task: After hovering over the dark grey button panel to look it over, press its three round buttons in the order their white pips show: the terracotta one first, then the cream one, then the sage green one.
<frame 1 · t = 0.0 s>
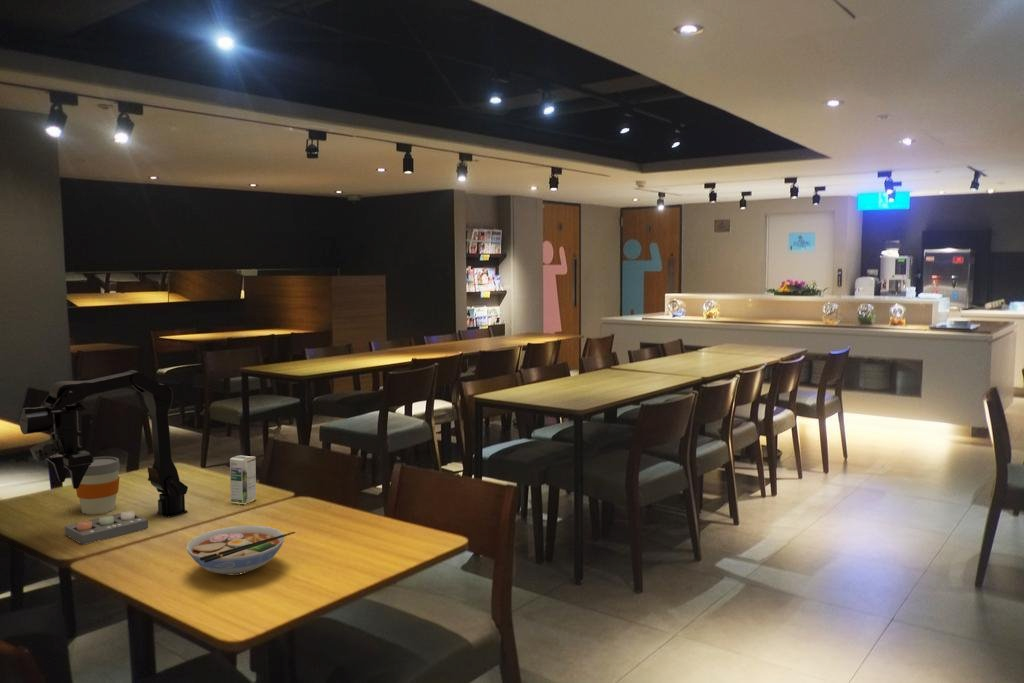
hand: (68, 485, 209), 15 cm above the table, tool pointing down, fingers open, 9 cm apart
button terracotta: (84, 528, 211), point 2 cm above the table, slide at 0.0 cm
button cream: (127, 517, 220), point 3 cm above the table, slide at 0.0 cm
ramen bowl: (237, 570, 189), on the table
reusable coffee cup: (98, 510, 235), on the table
button sage: (106, 522, 215), point 3 cm above the table, slide at 0.0 cm
syrup box: (243, 502, 244), on the table
button panel: (107, 531, 216), on the table
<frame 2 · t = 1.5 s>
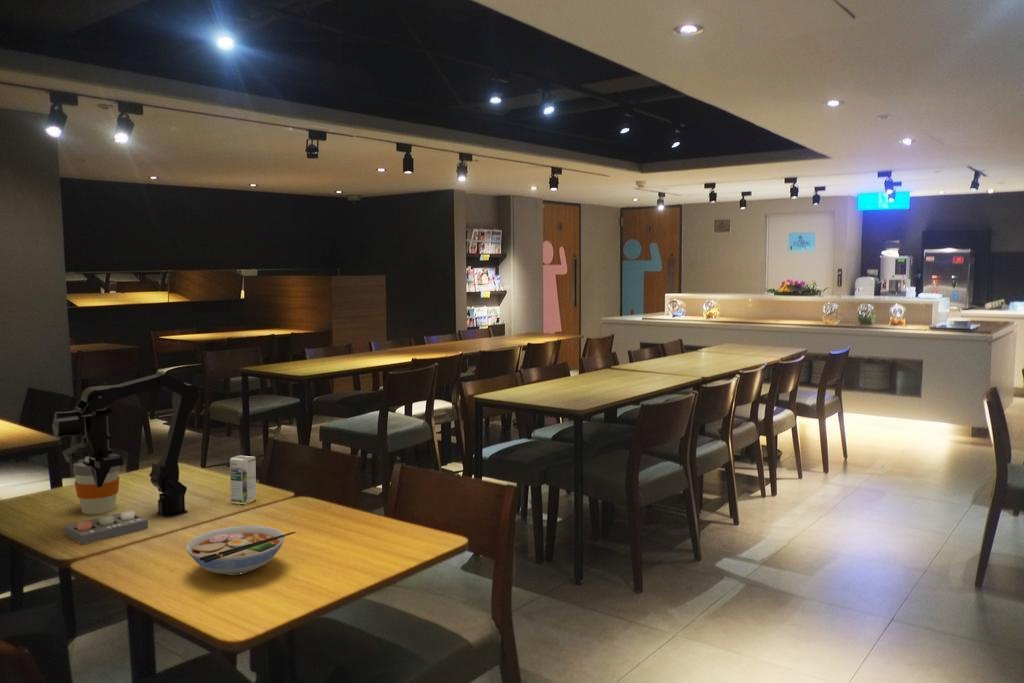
hand: (99, 486, 217), 12 cm above the table, tool pointing down, fingers closed
nothing on the table moved.
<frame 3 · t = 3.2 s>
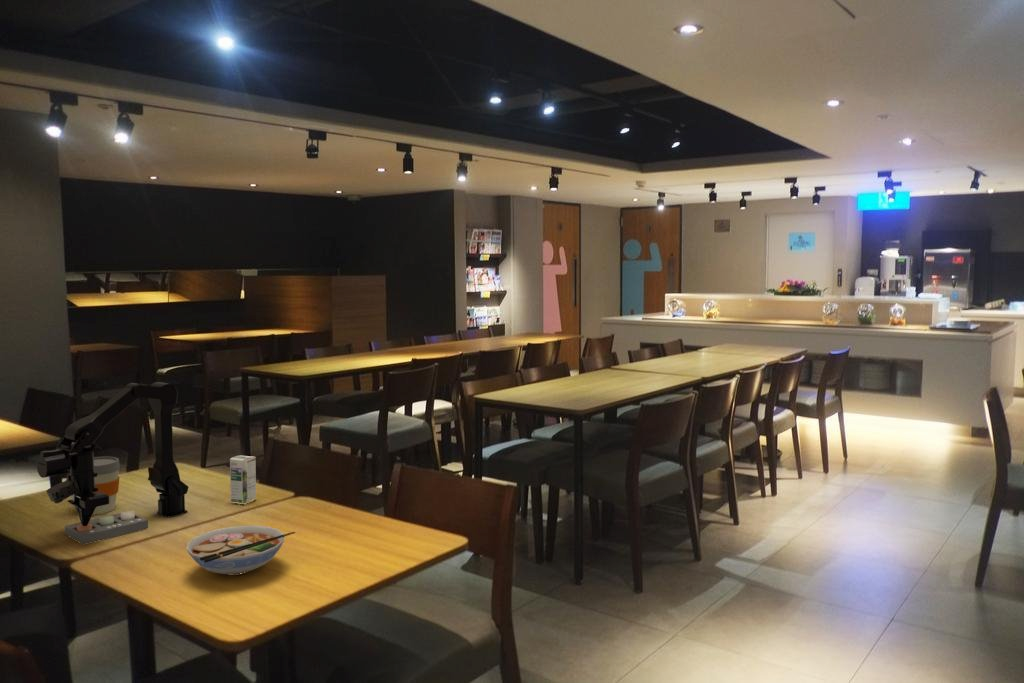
hand: (84, 525, 211), 3 cm above the table, tool pointing down, fingers closed, pressing on button terracotta
button terracotta: (84, 531, 211), point 2 cm above the table, slide at 0.8 cm, touching gripper
everything else where it was.
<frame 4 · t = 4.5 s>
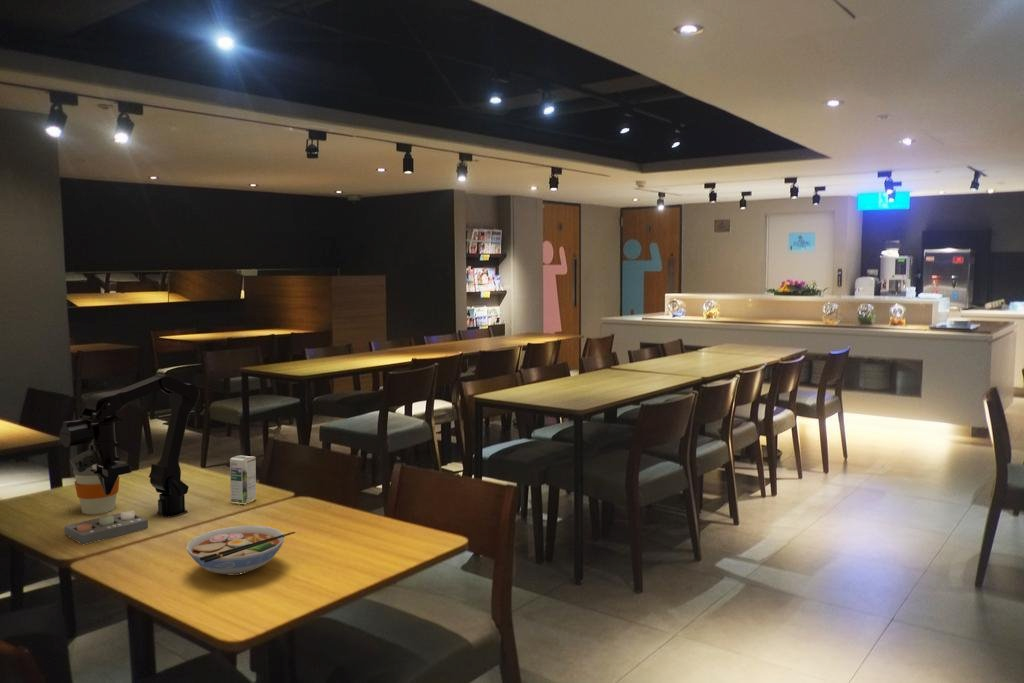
hand: (107, 494, 215), 10 cm above the table, tool pointing down, fingers closed
button terracotta: (84, 531, 211), point 2 cm above the table, slide at 0.9 cm
everything else where it was.
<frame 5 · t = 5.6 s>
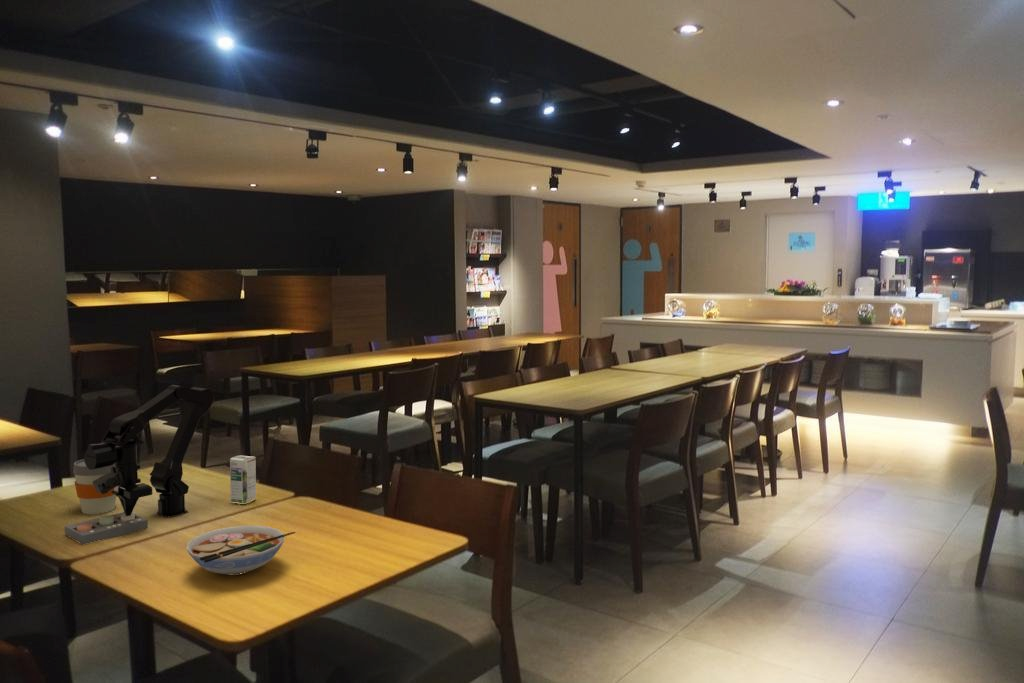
hand: (128, 515, 220), 3 cm above the table, tool pointing down, fingers closed, pressing on button cream
button cream: (127, 520, 220), point 2 cm above the table, slide at 0.9 cm, touching gripper
everything else where it was.
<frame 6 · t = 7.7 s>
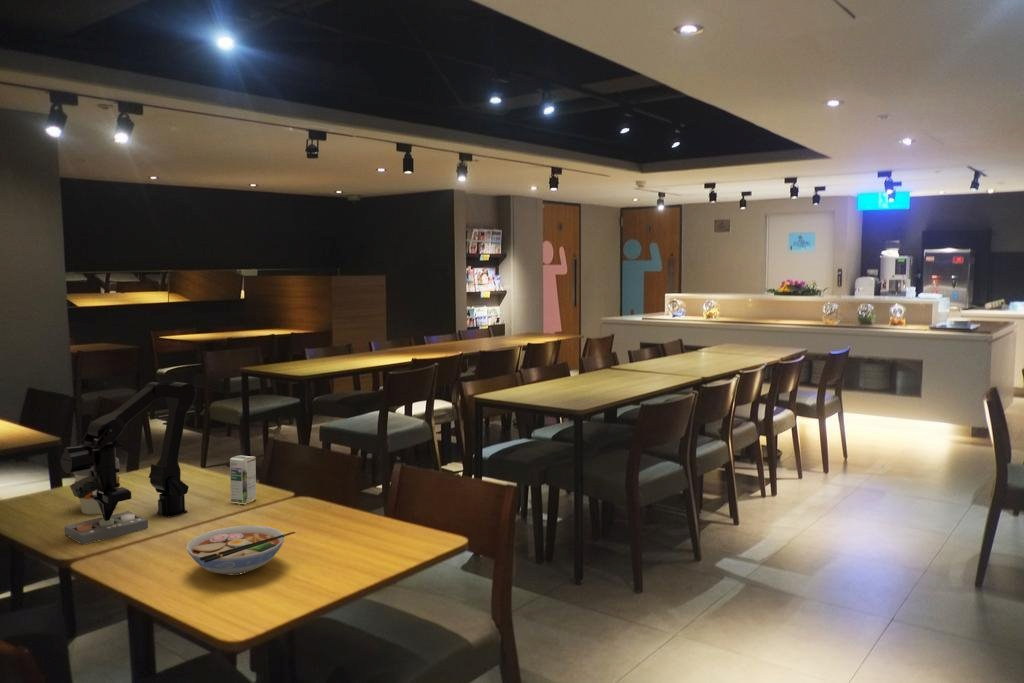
hand: (106, 520, 215), 3 cm above the table, tool pointing down, fingers closed, pressing on button sage
button cream: (127, 520, 220), point 2 cm above the table, slide at 0.9 cm
button sage: (106, 525, 215), point 2 cm above the table, slide at 0.8 cm, touching gripper
everything else where it was.
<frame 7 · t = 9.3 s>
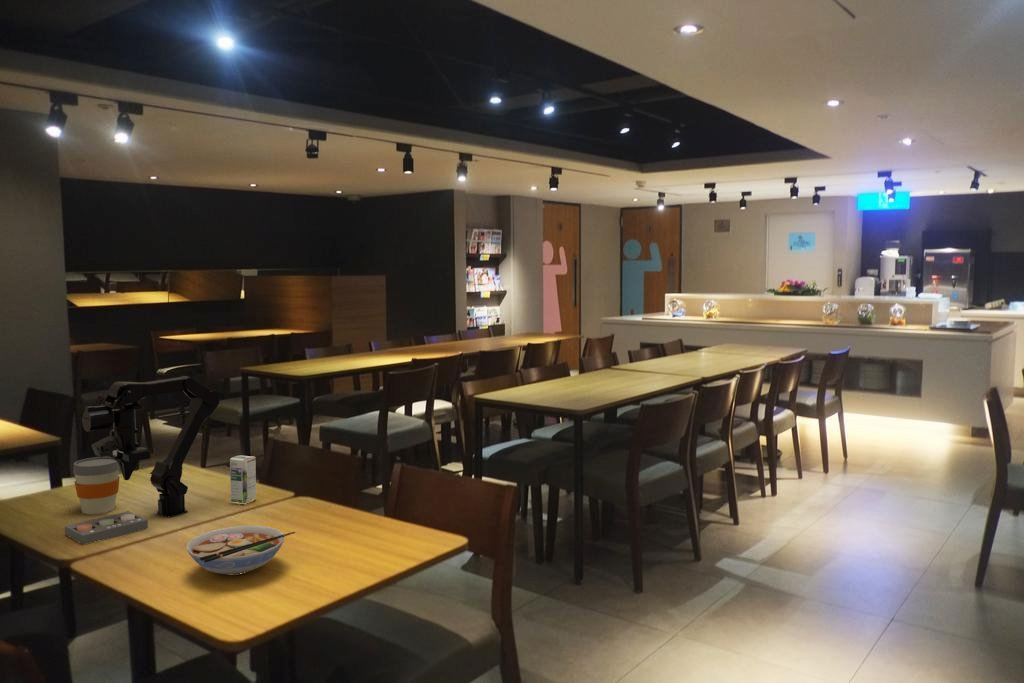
hand: (126, 479, 221), 13 cm above the table, tool pointing down, fingers closed
button sage: (106, 525, 215), point 2 cm above the table, slide at 0.9 cm
everything else where it was.
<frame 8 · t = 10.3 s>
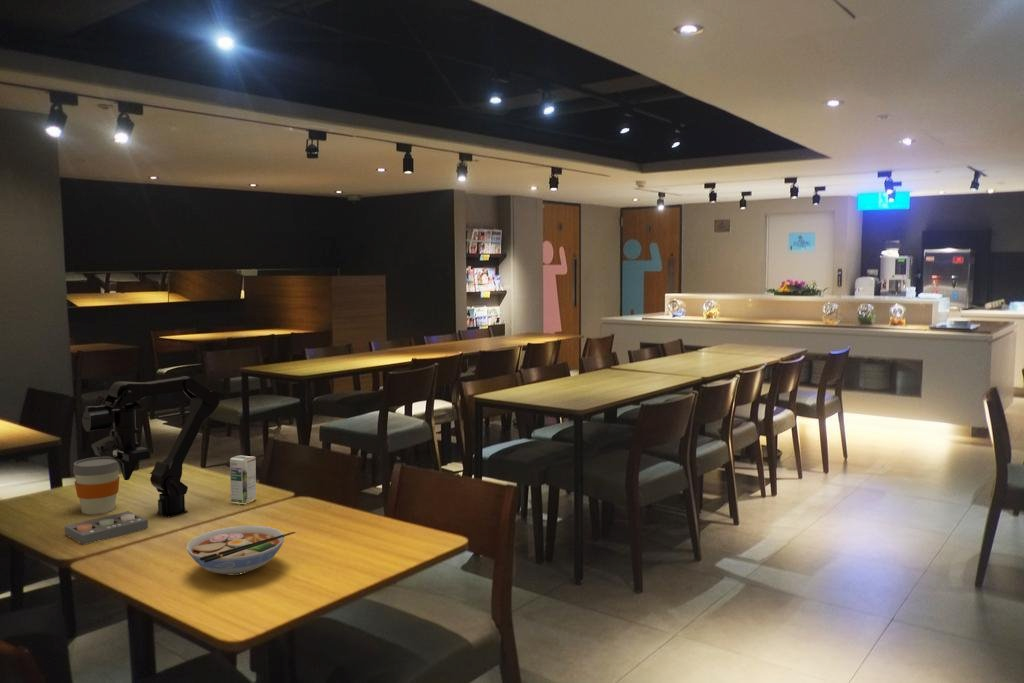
hand: (126, 479, 221), 13 cm above the table, tool pointing down, fingers closed
nothing on the table moved.
at the end: button terracotta slide at 0.9 cm; button cream slide at 0.9 cm; button sage slide at 0.9 cm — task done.
